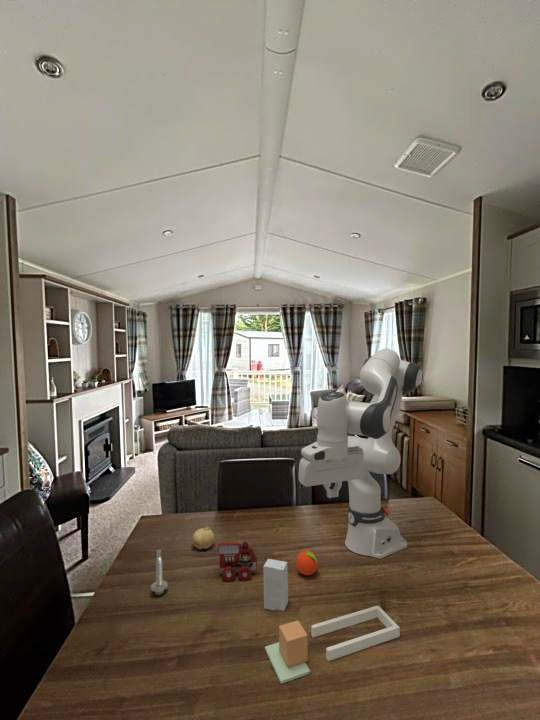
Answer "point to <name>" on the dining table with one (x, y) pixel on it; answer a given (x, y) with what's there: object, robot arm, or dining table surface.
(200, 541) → the onion
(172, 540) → the dining table surface
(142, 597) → the dining table surface
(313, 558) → the clementine
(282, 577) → the skincare box
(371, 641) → the chute
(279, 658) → the pad
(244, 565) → the toy fire truck
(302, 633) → the block
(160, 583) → the screw
